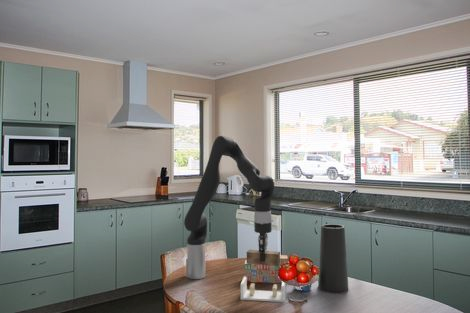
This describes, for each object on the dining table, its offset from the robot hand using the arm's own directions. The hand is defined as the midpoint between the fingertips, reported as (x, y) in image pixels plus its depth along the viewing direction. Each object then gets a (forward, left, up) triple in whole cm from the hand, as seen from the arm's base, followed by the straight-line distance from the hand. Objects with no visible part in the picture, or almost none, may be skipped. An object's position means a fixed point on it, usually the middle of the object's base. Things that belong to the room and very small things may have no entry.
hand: (263, 259), depth 166 cm
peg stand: (0, 0, -16) cm, 16 cm away
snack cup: (+17, +12, -17) cm, 27 cm away
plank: (0, 0, -2) cm, 2 cm away
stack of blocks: (-1, +22, -17) cm, 27 cm away
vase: (+31, +16, -17) cm, 39 cm away
